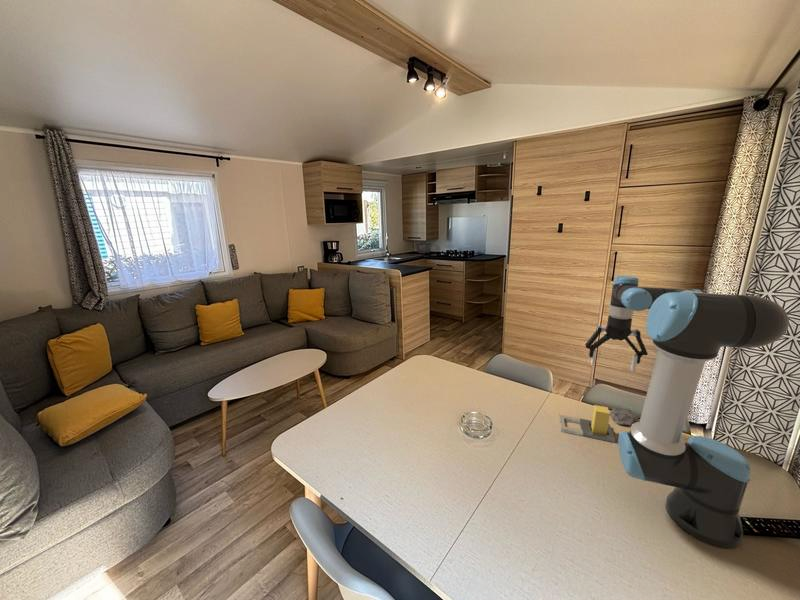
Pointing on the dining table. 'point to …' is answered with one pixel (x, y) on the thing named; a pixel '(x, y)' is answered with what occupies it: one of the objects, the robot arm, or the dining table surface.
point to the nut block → (600, 419)
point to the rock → (623, 416)
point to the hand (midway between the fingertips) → (612, 367)
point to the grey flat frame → (584, 428)
